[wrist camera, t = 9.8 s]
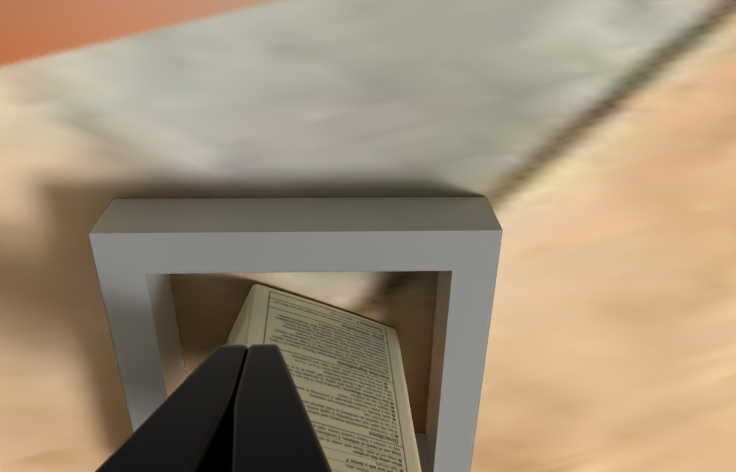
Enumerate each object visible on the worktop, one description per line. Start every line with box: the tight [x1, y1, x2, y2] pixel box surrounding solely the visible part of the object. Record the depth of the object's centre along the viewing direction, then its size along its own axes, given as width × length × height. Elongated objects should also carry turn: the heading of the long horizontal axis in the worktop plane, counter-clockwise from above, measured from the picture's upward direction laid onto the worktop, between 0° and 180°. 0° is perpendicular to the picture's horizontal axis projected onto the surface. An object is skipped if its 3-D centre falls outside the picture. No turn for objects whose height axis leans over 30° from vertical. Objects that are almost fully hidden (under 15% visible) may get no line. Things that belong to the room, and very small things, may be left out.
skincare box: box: [225, 284, 421, 472], centre depth 20 cm, size 6×4×12 cm
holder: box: [89, 197, 503, 472], centre depth 24 cm, size 13×13×2 cm
